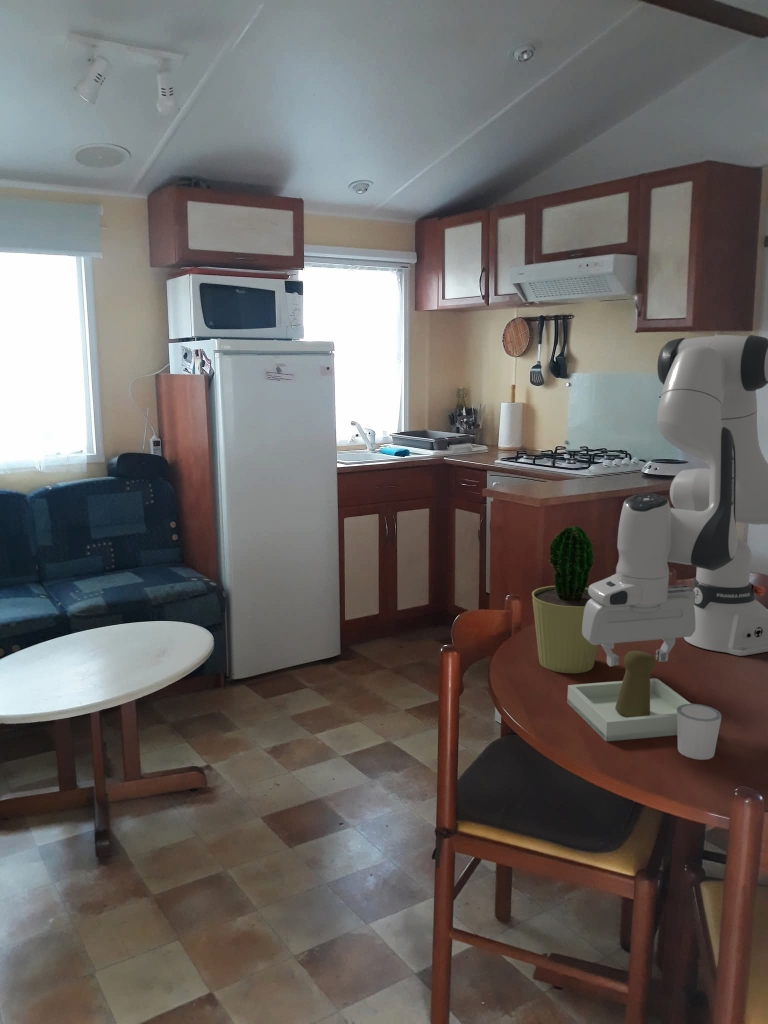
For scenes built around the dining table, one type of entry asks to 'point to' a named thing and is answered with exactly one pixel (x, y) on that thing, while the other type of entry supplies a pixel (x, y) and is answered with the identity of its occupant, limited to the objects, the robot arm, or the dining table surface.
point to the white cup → (697, 730)
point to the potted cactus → (565, 605)
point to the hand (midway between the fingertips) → (637, 662)
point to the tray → (612, 726)
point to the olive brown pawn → (636, 685)
